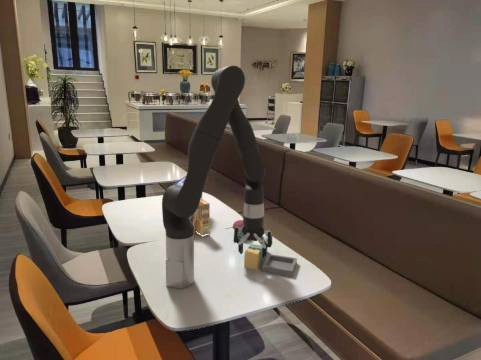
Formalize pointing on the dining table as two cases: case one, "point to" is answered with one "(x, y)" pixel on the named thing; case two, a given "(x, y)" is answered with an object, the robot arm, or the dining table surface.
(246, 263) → the tan box block
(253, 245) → the teal box with tabs
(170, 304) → the dining table surface
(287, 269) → the tray
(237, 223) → the cupcake
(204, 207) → the candy box
